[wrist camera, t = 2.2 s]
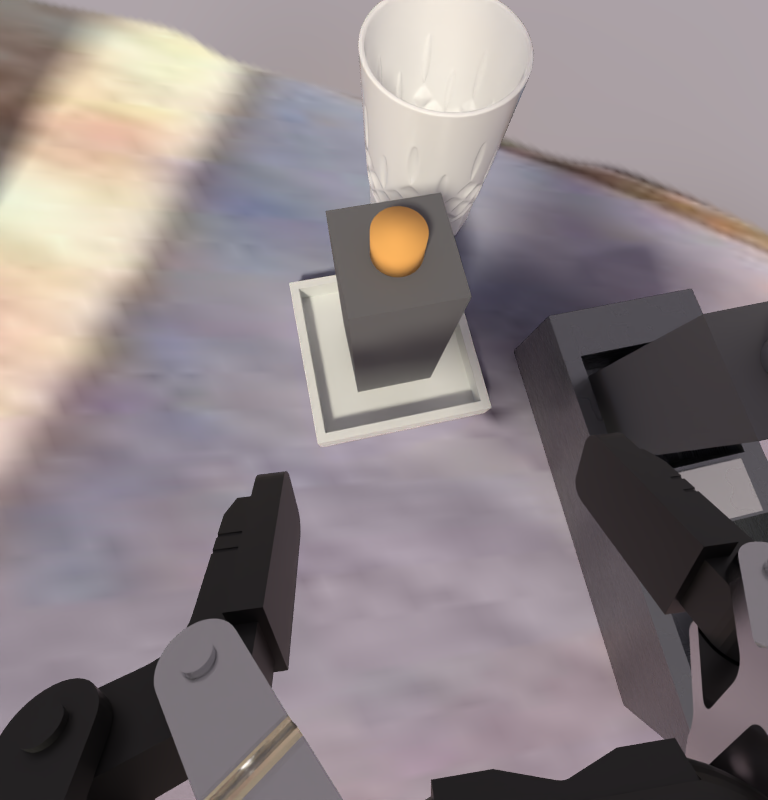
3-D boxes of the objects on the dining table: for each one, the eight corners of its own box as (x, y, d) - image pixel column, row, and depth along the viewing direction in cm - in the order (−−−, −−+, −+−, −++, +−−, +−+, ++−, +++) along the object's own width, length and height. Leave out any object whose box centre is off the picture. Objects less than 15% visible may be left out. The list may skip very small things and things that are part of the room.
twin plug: (588, 464, 22) (798, 435, 11) (563, 389, 23) (734, 297, 12) (660, 447, 22) (933, 404, 12) (633, 375, 23) (859, 272, 13)
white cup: (498, 208, 27) (569, 50, 17) (421, 278, 26) (451, 147, 16) (417, 141, 28) (442, -43, 19) (339, 204, 27) (321, 40, 17)
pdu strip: (623, 705, 20) (710, 777, 15) (513, 350, 25) (551, 313, 20) (761, 666, 21) (889, 722, 16) (630, 327, 25) (696, 285, 20)
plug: (357, 392, 23) (346, 303, 12) (343, 324, 24) (321, 186, 13) (430, 377, 24) (480, 278, 13) (413, 311, 25) (447, 166, 14)
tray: (321, 447, 23) (317, 443, 21) (294, 295, 25) (289, 283, 24) (483, 413, 24) (491, 407, 22) (443, 269, 26) (448, 255, 24)
